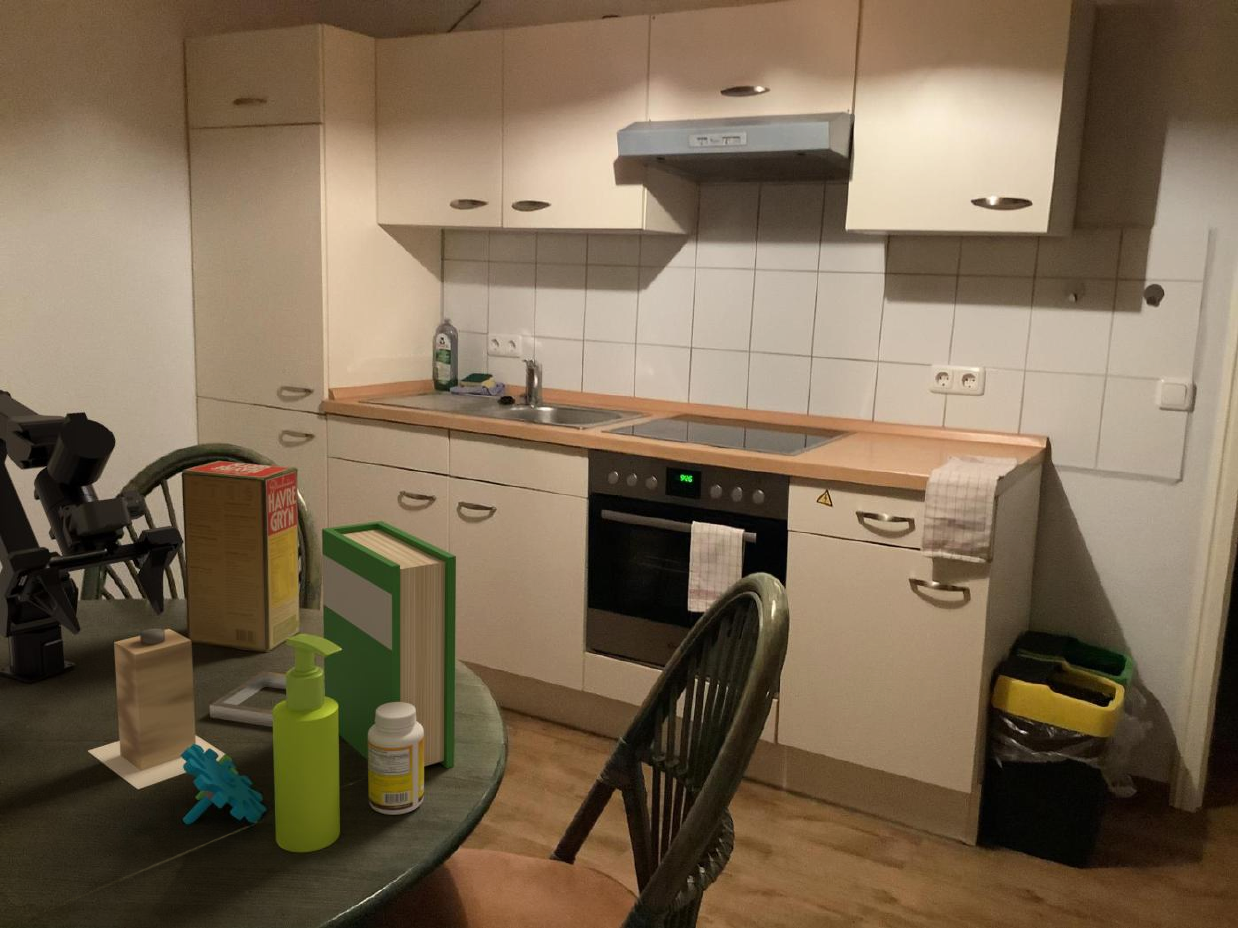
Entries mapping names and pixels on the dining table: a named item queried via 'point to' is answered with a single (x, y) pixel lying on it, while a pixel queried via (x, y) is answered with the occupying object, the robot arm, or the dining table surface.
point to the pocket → (229, 702)
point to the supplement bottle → (396, 759)
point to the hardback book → (390, 632)
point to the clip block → (154, 697)
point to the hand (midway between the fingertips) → (120, 622)
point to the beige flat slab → (149, 776)
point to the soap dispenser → (306, 753)
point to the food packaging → (241, 554)
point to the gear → (220, 785)
